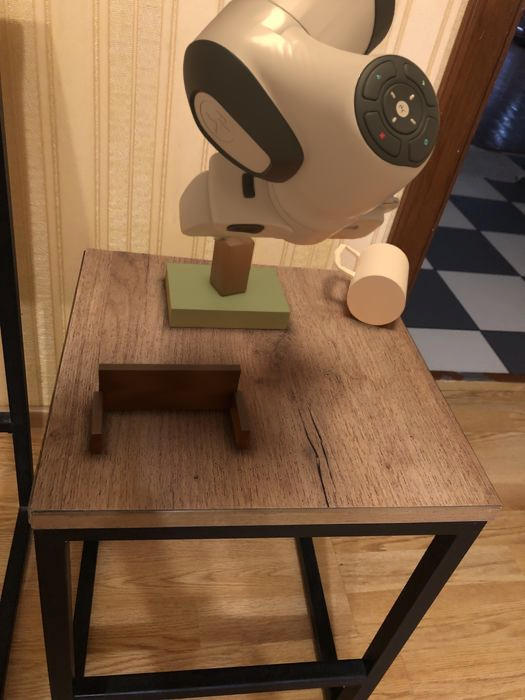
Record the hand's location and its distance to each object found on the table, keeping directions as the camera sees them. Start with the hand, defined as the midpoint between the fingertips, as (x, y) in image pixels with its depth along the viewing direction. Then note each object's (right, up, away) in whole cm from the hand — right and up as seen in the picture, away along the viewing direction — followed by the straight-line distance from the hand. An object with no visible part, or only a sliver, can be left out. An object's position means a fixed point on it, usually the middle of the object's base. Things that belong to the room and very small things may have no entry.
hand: (260, 234), depth 65 cm
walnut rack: (-10, -22, -3) cm, 24 cm away
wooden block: (-5, -4, +16) cm, 17 cm away
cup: (+15, -5, +17) cm, 23 cm away
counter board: (-5, -6, +17) cm, 19 cm away
